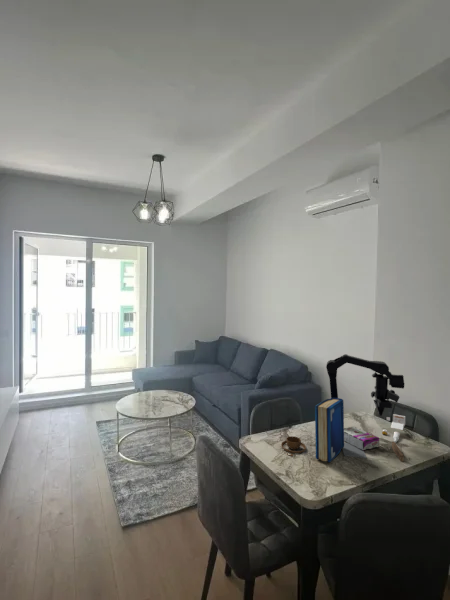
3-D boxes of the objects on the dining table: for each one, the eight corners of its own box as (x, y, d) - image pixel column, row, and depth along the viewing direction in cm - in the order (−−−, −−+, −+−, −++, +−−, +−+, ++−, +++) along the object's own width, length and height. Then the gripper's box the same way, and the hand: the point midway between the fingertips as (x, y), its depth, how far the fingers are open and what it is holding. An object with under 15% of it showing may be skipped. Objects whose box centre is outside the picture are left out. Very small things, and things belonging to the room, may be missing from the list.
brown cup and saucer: (290, 439, 174) (291, 428, 174) (328, 451, 161) (328, 439, 161) (274, 451, 160) (274, 439, 160) (313, 465, 148) (313, 452, 148)
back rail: (400, 461, 152) (400, 455, 152) (391, 447, 166) (392, 441, 166) (403, 461, 152) (403, 455, 152) (394, 447, 166) (394, 442, 166)
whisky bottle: (386, 421, 201) (380, 443, 176) (386, 412, 201) (380, 433, 175) (405, 425, 196) (401, 448, 170) (405, 415, 195) (402, 437, 170)
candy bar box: (379, 447, 165) (354, 435, 180) (379, 437, 165) (354, 425, 180) (362, 451, 161) (338, 438, 176) (363, 441, 161) (338, 428, 176)
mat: (344, 455, 157) (344, 455, 157) (340, 442, 170) (340, 442, 170) (366, 458, 155) (366, 457, 155) (360, 444, 168) (360, 444, 168)
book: (332, 443, 169) (331, 394, 169) (346, 447, 164) (344, 396, 165) (315, 460, 152) (313, 405, 152) (330, 464, 147) (328, 408, 148)
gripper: (404, 392, 163) (402, 424, 164) (392, 382, 182) (391, 410, 182) (379, 390, 166) (378, 421, 166) (371, 381, 184) (370, 408, 184)
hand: (380, 415), depth 174 cm, fingers closed
